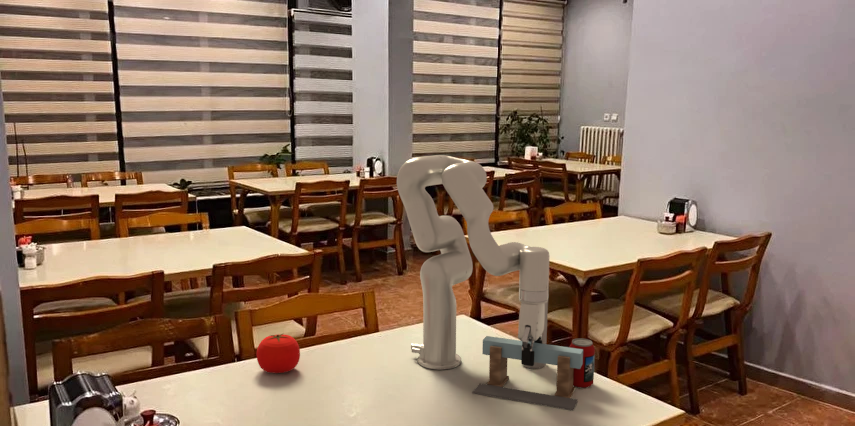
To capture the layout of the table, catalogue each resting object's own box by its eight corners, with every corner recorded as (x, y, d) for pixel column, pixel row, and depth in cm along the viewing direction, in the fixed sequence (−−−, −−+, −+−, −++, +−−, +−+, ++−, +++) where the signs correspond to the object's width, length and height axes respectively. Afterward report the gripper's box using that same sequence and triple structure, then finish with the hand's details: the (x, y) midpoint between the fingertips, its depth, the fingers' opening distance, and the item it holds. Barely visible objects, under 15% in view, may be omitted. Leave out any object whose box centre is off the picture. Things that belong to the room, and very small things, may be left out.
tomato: (297, 361, 200) (296, 326, 199) (303, 376, 189) (302, 339, 188) (255, 365, 197) (254, 330, 195) (258, 381, 186) (257, 344, 184)
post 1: (486, 386, 183) (487, 346, 181) (494, 376, 190) (495, 338, 188) (501, 388, 182) (502, 348, 180) (508, 378, 188) (509, 340, 187)
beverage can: (593, 390, 181) (595, 347, 179) (567, 388, 182) (569, 345, 180) (592, 380, 187) (594, 338, 185) (567, 378, 189) (569, 336, 187)
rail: (482, 354, 184) (482, 339, 184) (486, 350, 188) (486, 335, 187) (580, 368, 175) (580, 353, 174) (582, 364, 178) (583, 349, 177)
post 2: (554, 397, 176) (555, 356, 175) (559, 387, 183) (561, 347, 181) (569, 400, 175) (571, 359, 173) (574, 389, 181) (576, 349, 180)
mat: (472, 393, 179) (472, 391, 179) (479, 385, 184) (479, 383, 184) (573, 410, 169) (573, 408, 169) (577, 401, 174) (577, 399, 174)
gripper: (527, 285, 188) (526, 346, 190) (510, 302, 172) (508, 369, 175) (555, 288, 185) (553, 350, 188) (539, 305, 169) (537, 373, 172)
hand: (531, 359), depth 181 cm, fingers open, 7 cm apart
